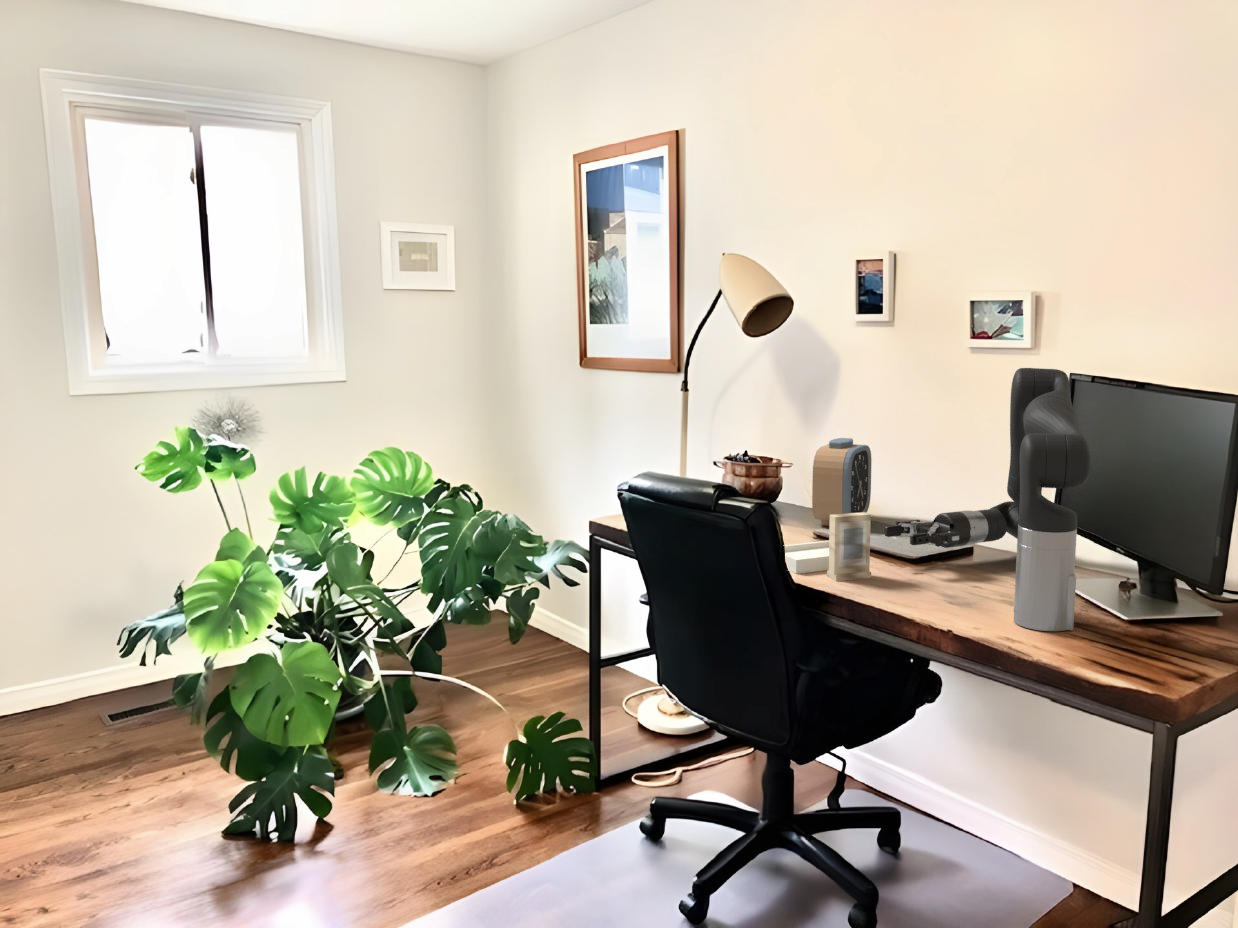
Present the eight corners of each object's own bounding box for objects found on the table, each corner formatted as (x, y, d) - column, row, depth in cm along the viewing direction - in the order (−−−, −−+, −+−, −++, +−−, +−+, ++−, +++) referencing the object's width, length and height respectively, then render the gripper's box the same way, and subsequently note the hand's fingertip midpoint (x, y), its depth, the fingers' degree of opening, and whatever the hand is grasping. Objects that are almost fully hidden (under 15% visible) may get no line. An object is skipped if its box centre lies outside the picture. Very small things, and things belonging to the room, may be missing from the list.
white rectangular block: (831, 558, 214) (831, 540, 213) (852, 566, 206) (852, 547, 206) (776, 565, 209) (776, 546, 208) (796, 573, 201) (796, 554, 201)
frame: (861, 573, 201) (862, 511, 199) (871, 577, 198) (872, 515, 196) (826, 576, 199) (827, 514, 197) (835, 581, 196) (837, 517, 194)
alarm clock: (848, 531, 240) (850, 446, 237) (811, 528, 245) (813, 444, 241) (870, 516, 258) (872, 436, 254) (836, 513, 262) (837, 435, 259)
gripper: (939, 505, 213) (877, 512, 208) (984, 517, 200) (920, 524, 194) (937, 538, 214) (877, 545, 209) (983, 552, 201) (919, 560, 195)
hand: (898, 535), depth 202 cm, fingers open, 8 cm apart
